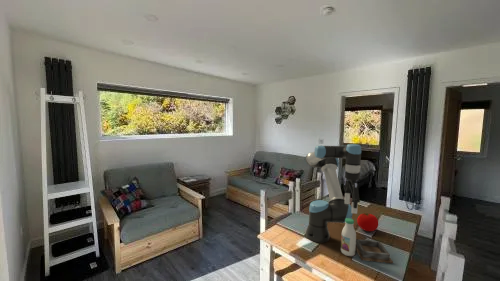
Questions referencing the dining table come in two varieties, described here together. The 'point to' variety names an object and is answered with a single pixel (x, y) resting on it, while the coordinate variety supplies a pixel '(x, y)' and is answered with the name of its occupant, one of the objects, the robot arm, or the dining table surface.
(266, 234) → the dining table surface
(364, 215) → the tomato
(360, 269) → the dining table surface
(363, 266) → the dining table surface
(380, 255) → the bottle stand
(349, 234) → the milk bottle
